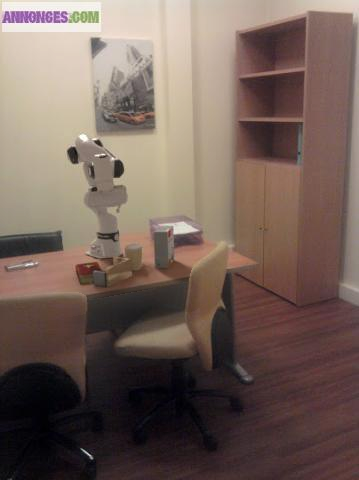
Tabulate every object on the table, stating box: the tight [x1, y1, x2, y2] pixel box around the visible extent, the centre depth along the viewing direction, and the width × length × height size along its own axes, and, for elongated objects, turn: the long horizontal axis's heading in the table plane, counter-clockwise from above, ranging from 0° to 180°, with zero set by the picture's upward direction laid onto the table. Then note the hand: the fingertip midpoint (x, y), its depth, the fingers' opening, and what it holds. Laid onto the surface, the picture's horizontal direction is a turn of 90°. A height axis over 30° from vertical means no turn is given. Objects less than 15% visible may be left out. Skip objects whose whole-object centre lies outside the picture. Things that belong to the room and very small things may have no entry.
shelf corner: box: [105, 256, 133, 288], centre depth 230 cm, size 10×18×9 cm, turn 148°
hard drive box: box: [153, 224, 175, 269], centre depth 250 cm, size 16×8×20 cm, turn 168°
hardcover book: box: [75, 261, 104, 284], centre depth 239 cm, size 12×21×4 cm, turn 18°
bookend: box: [93, 271, 108, 288], centre depth 223 cm, size 7×2×7 cm, turn 58°
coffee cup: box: [124, 243, 143, 271], centre depth 246 cm, size 9×9×12 cm
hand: (108, 213), depth 236 cm, fingers open, 8 cm apart
